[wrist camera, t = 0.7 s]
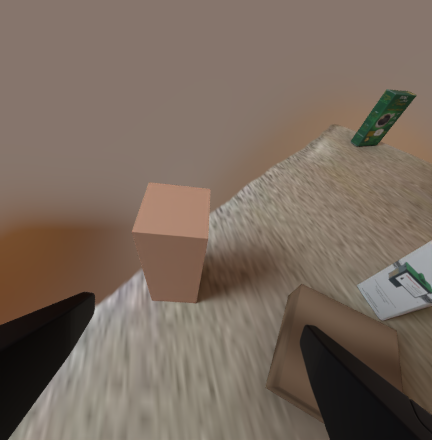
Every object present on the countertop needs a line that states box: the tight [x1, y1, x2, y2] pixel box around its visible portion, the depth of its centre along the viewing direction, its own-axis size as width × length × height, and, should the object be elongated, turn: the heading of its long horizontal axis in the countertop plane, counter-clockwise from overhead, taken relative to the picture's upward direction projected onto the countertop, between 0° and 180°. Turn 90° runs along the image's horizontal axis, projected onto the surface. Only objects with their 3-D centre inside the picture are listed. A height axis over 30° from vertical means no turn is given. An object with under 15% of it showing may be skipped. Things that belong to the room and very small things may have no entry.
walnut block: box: [266, 284, 403, 423], centre depth 20 cm, size 10×10×4 cm
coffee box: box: [351, 89, 416, 146], centre depth 52 cm, size 8×3×13 cm, turn 108°
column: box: [132, 182, 210, 303], centre depth 20 cm, size 5×5×13 cm
